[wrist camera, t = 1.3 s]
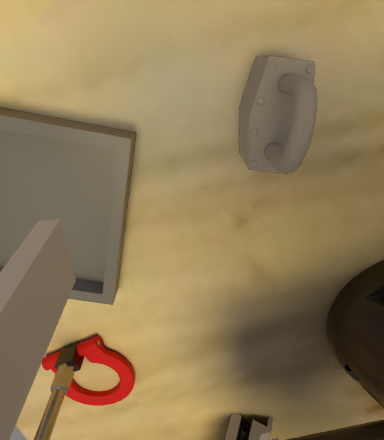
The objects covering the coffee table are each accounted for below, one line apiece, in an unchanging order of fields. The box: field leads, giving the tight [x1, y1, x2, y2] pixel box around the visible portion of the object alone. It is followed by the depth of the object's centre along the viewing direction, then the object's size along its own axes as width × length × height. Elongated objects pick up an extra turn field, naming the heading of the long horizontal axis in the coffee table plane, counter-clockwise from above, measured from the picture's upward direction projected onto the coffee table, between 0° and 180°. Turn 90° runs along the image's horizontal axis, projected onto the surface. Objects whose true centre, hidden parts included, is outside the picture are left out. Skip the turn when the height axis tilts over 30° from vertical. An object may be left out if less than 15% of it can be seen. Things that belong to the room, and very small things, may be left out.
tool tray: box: [0, 108, 136, 305], centre depth 29 cm, size 13×15×2 cm
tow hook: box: [34, 336, 135, 440], centre depth 32 cm, size 8×13×9 cm
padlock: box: [239, 56, 317, 174], centre depth 22 cm, size 7×4×10 cm, turn 173°
